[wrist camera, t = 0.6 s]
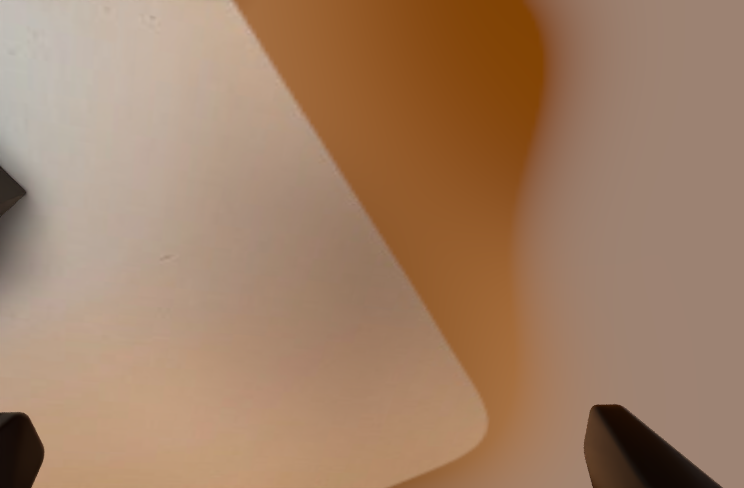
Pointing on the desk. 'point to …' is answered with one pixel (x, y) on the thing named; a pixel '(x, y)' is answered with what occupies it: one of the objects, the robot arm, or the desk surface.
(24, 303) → the desk surface
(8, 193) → the grey socket base
